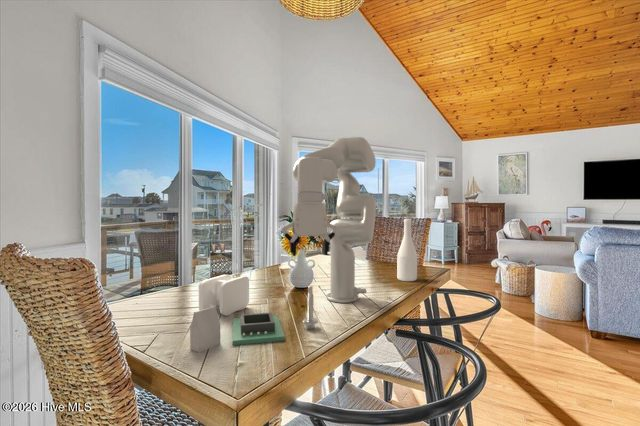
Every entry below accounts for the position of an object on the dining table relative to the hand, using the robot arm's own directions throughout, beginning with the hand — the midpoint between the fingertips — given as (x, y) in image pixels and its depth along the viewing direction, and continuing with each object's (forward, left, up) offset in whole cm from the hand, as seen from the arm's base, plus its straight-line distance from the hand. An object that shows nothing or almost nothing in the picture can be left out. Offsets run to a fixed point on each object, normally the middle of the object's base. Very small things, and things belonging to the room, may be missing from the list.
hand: (309, 254), depth 106 cm
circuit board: (+16, -1, -22) cm, 27 cm away
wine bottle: (-60, -53, -23) cm, 83 cm away
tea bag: (+30, +7, -23) cm, 38 cm away
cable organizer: (+26, -23, -23) cm, 41 cm away
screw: (0, 0, -23) cm, 23 cm away
